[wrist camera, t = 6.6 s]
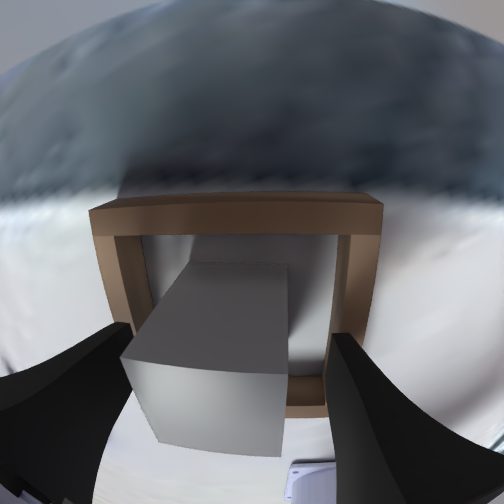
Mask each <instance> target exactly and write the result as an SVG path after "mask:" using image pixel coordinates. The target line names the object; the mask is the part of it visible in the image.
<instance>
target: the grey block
mask: <svg viewBox="0 0 504 504" xmlns="http://www.w3.org/2000/svg"><path fill="white" fill-rule="evenodd" d="M120 359H121V362H122V364H123V367H124V369H125V372H126V374H127V377H128V379H129V381H130V384H131V386H132V388H133V391H134V393H135V395H136V397H137V400H138V402H139V404H140V406H141V408H142V410H143V412H144V414H145V417H146V419H147V421H148V423H149V425H150V427H151V428H152V430H153V432H154V434H155V436H156V438H157V440H158V442H160V443H164V444H169V445H174V446H179V447H184V448H190V449H196V450H202V451H209V452H217V453H225V454H235V455H247V456H264V457H281V451H282V442H283V432H284V421H285V409H286V397H287V384H288V287H287V264H253V263H188V264H187V265H186V267H185V268H184V269H183V271H182V272H181V273H180V275H179V276H178V277H177V279H176V280H175V281H174V283H173V284H172V285H171V287H170V288H169V289H168V291H167V292H166V293H165V295H164V296H163V297H162V299H161V300H160V301H159V303H158V304H157V306H156V307H155V308H154V310H153V311H152V312H151V314H150V315H149V317H148V318H147V319H146V321H145V322H144V324H143V325H142V326H141V328H140V329H139V331H138V332H137V333H136V335H135V336H134V338H133V339H132V341H131V342H130V343H129V345H128V346H127V348H126V349H125V351H124V352H123V354H122V355H121V356H120Z"/></svg>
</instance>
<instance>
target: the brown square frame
mask: <svg viewBox="0 0 504 504" xmlns="http://www.w3.org/2000/svg"><path fill="white" fill-rule="evenodd" d="M383 205H384V204H383V203H381V202H380V201H378V200H376V199H375V198H373V197H371V196H370V195H368V194H366V193H347V192H302V191H267V192H221V193H197V194H178V195H162V196H148V197H136V198H124V199H115V200H113V201H110V202H108V203H105V204H103V205H100V206H98V207H95V208H93V209H90V210H88V211H89V217H90V223H91V229H92V235H93V240H94V245H95V250H96V255H97V259H98V264H99V268H100V272H101V276H102V280H103V284H104V288H105V292H106V296H107V299H108V303H109V306H110V310H111V313H112V316H113V320H114V323H115V322H117V321H118V322H125V323H130V325H131V328H132V331H133V335H134V336H135V335H136V333H137V332H138V331H139V329H140V328H141V326H142V325H143V324H144V322H145V321H146V319H147V318H148V317H149V315H150V314H151V312H152V311H153V310H154V306H153V301H152V297H151V292H150V287H149V282H148V277H147V272H146V266H145V261H144V255H143V249H142V243H141V236H140V235H189V234H338V248H337V261H336V273H335V283H334V293H333V302H332V311H331V319H330V327H329V334H328V341H327V348H326V354H325V361H324V367H323V373H322V376H288V384H287V397H286V409H285V418H324V417H329V414H328V409H327V403H326V390H325V372H326V366H327V360H328V354H329V348H330V342H331V335H332V333H350V334H351V335H352V336H353V337H354V338H355V340H356V341H357V342H358V344H359V345H360V346H361V347H362V345H363V340H364V336H365V331H366V327H367V322H368V317H369V312H370V307H371V301H372V295H373V290H374V283H375V277H376V270H377V263H378V255H379V247H380V238H381V229H382V218H383Z"/></svg>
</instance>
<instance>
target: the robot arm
mask: <svg viewBox="0 0 504 504" xmlns="http://www.w3.org/2000/svg"><path fill="white" fill-rule="evenodd" d="M133 338H134V335H133V331H132V328H131V325H130V323H125V322H118V321H117V322H115V323H112V324H110V325H109V326H107V327H105V328H103V329H101V330H100V331H98V332H96V333H95V334H93V335H91V336H90V337H88V338H86V339H84V340H83V341H81V342H79V343H78V344H76V345H74V346H73V347H71V348H69V349H67V350H65V351H64V352H62V353H60V354H58V355H56V356H54V357H53V358H51V359H49V360H47V361H44V362H42V363H40V364H38V365H36V366H33V367H31V368H28V369H26V370H23V371H20V372H17V373H14V374H11V375H8V376H4V377H0V504H50V503H51V504H92V499H93V492H94V486H95V482H96V477H97V472H98V469H99V465H100V462H101V458H102V455H103V452H104V449H105V446H106V443H107V440H108V437H109V435H110V433H111V431H112V428H113V426H114V424H115V422H116V421H117V419H118V417H119V415H120V413H121V411H122V409H123V407H124V406H125V404H126V402H127V400H128V398H129V396H130V394H131V392H132V390H133V388H132V386H131V384H130V381H129V379H128V377H127V374H126V372H125V369H124V367H123V364H122V362H121V359H120V356H121V355H122V354H123V352H124V351H125V349H126V348H127V346H128V345H129V343H130V342H131V341H132V339H133ZM325 390H326V403H327V409H328V414H329V420H330V426H331V432H332V438H333V444H334V450H335V459H336V462H327V463H306V464H292V465H291V466H290V469H289V474H288V479H287V485H286V490H285V495H284V501H291V504H487V503H489V502H490V501H491V500H493V499H494V498H496V497H497V496H498V495H500V494H501V493H502V492H504V455H503V454H500V453H498V452H495V451H492V450H490V449H487V448H485V447H482V446H480V445H478V444H475V443H473V442H471V441H469V440H468V439H466V438H464V437H462V436H460V435H458V434H456V433H455V432H453V431H451V430H450V429H448V428H447V427H445V426H444V425H442V424H441V423H439V422H438V421H436V420H435V419H433V418H432V417H430V416H429V415H428V414H426V413H425V412H424V411H423V410H421V409H420V408H419V407H418V406H417V405H415V404H414V403H413V402H412V401H411V400H409V399H408V398H407V397H406V396H405V395H404V394H403V393H402V392H401V391H400V390H399V389H398V388H397V387H396V386H395V385H394V384H393V383H392V382H391V381H390V380H389V379H388V378H387V377H386V376H385V375H384V373H383V372H382V371H381V370H380V369H379V368H378V367H377V366H376V364H375V363H374V362H373V361H372V360H371V358H370V357H369V356H368V355H367V354H366V352H365V351H364V350H363V349H362V347H361V346H360V345H359V344H358V342H357V341H356V340H355V338H354V337H353V336H352V335H351V334H350V333H332V335H331V342H330V348H329V354H328V360H327V366H326V372H325Z"/></svg>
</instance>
